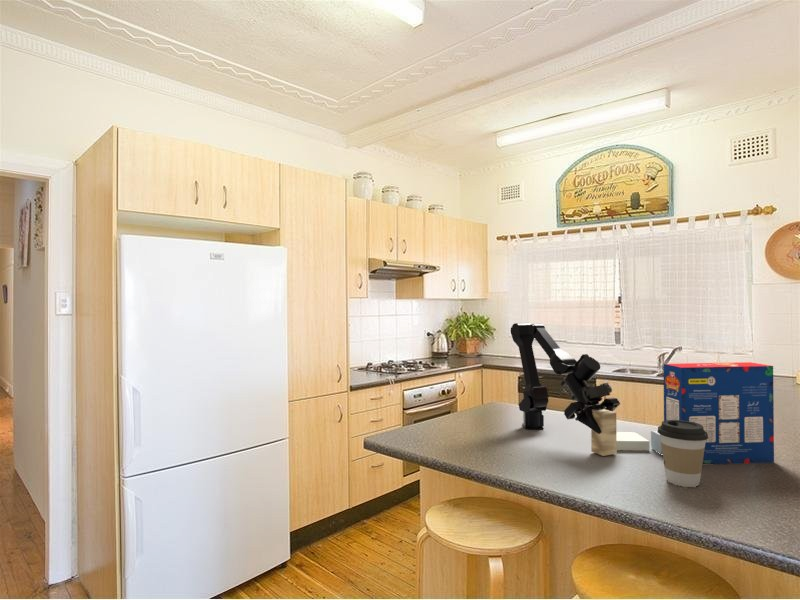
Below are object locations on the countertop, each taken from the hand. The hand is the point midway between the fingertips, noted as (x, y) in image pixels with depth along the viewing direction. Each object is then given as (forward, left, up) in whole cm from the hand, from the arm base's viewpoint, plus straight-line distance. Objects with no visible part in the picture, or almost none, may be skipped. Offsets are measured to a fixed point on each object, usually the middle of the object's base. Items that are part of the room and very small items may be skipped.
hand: (607, 432), depth 142 cm
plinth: (+10, +9, -7) cm, 15 cm away
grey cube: (+19, +4, -7) cm, 21 cm away
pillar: (-1, +1, -7) cm, 7 cm away
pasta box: (+31, -2, -7) cm, 32 cm away
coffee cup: (+11, -21, -7) cm, 25 cm away
